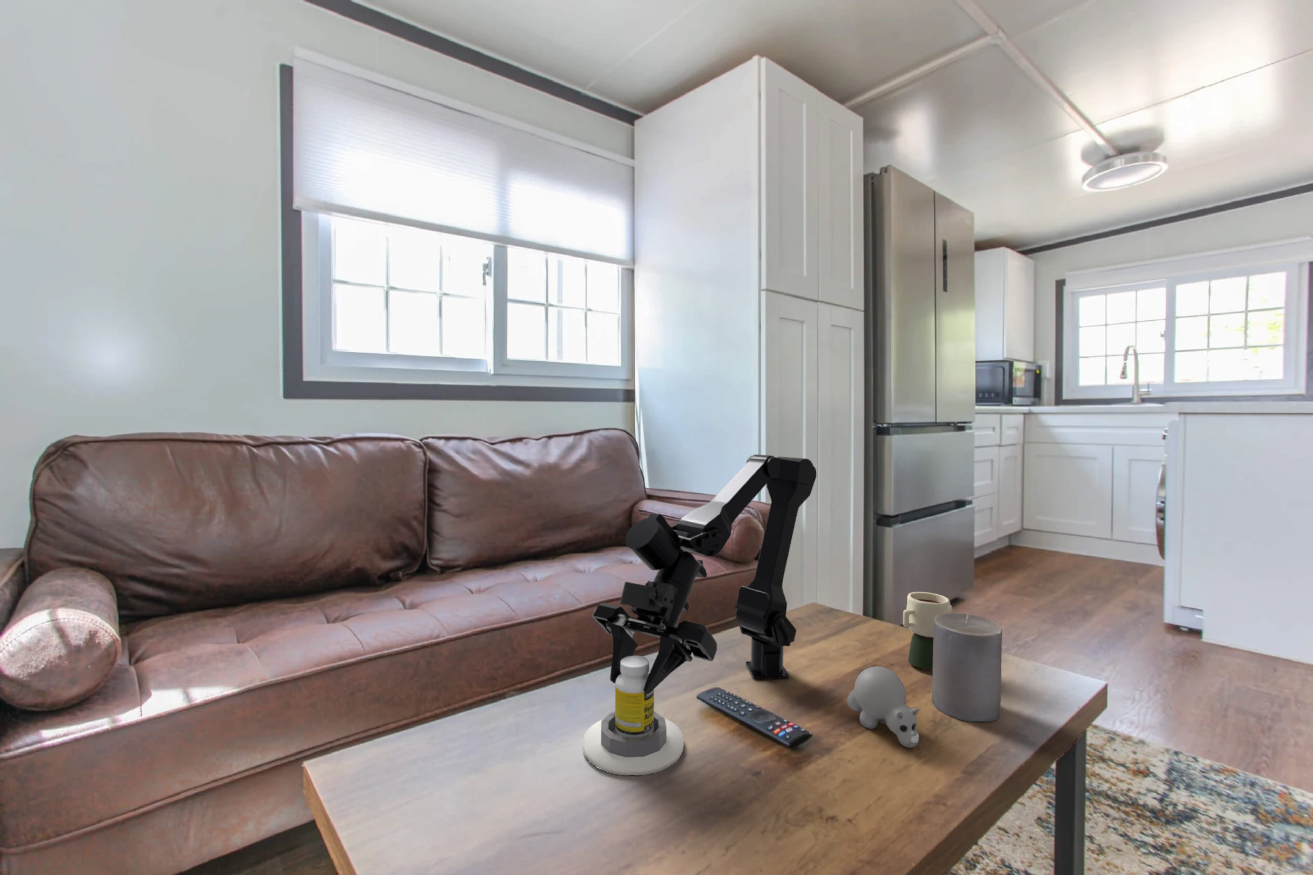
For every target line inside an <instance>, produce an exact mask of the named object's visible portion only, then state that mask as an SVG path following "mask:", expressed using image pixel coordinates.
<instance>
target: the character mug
mask: <svg viewBox="0 0 1313 875" xmlns="http://www.w3.org/2000/svg"><path fill="white" fill-rule="evenodd" d="M906 599H907V601H906V609H904V610H903V612H902V625H903V627H904V628H908V630H909V631H911V633H912V635H911V639H910V644H909V650H908V660H907V661H908V664H911V665H913V666H915V667H918V668H919V669H923V670H927V671H932V672H933V637H934V618H935V617H936V616H937V615H940V614H945V613H953V606H952V605H951V601H950V599H949V598H948V597H946V596H944V595H941V594H939V593H933V592H926V591H925V592H924V591H913V592H909V593H908V594H907V597H906Z"/></svg>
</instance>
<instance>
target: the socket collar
mask: <svg viewBox="0 0 1313 875" xmlns="http://www.w3.org/2000/svg"><path fill="white" fill-rule="evenodd" d="M582 739H583V740H582V751H584V752H583V754H584V753H585V755H586V757H585V759H586V758H587V759H588V760H589V761H590V762H591V763H592V764H594V765H595V766H597V767H599V768H601V769H603V770H604V771H603V772H605V771H608V772H611V773H615V774H620V775H619V776H622V775H642V776H648V775H652V774H651V773H653V774H656V773H659V772H662V771H664V770H666V769H669V768H670V767H672V766H673V765H674V764H676V763H677V762H678V761H679V760H680V758H681V757H680V756H682V755H683V753H684V748H685V747H684V746H685V745H684V735H683V733H682V730H681V728H679V727H678V726H677V725H676V724H675V723H673V722H672V721H670V720H669V719H667V718H664V717H663V716H662V715H661V714H659V713H657V711H654V729H653V731H652V733H651V734H650V735H648V736H645V737H643V738H624V737H622V736H620V735H619V734H618V733H617V732H616V728H615V711H613V712H610V713H608V714H607V715H606V716H605V717H604V718H603V719H600V720H598V721H597V722H595V723H594V724H592V725H591V726H589V728H588V729H587V730H586V731H585V733H584V735H583V738H582ZM683 747H684V748H683ZM682 752H683V753H682ZM681 754H682V755H681ZM585 755H584V756H585ZM587 759H586V760H587ZM588 760H587V761H588ZM589 761H588V762H589ZM590 762H589V763H590ZM591 763H590V764H591ZM592 764H591V765H592ZM671 765H672V766H671ZM595 766H594V767H595ZM608 772H607V773H608ZM611 773H610V774H611ZM615 774H614V775H615Z"/></svg>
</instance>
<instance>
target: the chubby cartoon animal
mask: <svg viewBox="0 0 1313 875" xmlns="http://www.w3.org/2000/svg"><path fill="white" fill-rule="evenodd" d="M906 701H907V692H906V687H905V685H904V682H903V681H902V679H901V678H900V677H899V675H898V674H896V673H895V672H894V671H893V670H891V669H889V668H886V667H884V666H871V667H867V668H866V669H865V668H864V670H862V671H861V672H860V673H859V674H858V676H857V677H856V680H855V682H854V689H852V691H851V692H850V693H849V695H848V697H847V699H846V703H847V706H848V708H850V709H851V710H852V711H855V712H860V713H859V722H860V724H861V725H862V726H863V727H864V728H867V729H870V730H873V729H875V728H876V727H877V726H878V723H879V722H881V724H884V725H886V726H887V727H888V729H889V730H890V731H891V732H892V733H893V734H895V735H896V737H897V740H898V742H899V743H900V744H901V745H902V746H903V747H905V748H908V749H909V748H915V746H917V744H919V743H920V742H919V741H920V738H919V737H920V736H919V732H918V728H917V726H918V719H917V715H918V714H919V713H918V712H920V708H917V707H913V708H911V707H910V706H908V705H906V703H907V702H906Z"/></svg>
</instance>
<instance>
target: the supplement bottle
mask: <svg viewBox="0 0 1313 875" xmlns="http://www.w3.org/2000/svg"><path fill="white" fill-rule="evenodd" d="M620 671H621V674H620V675H619V676H618V677H617V678H616V682H615V683H614V684H615V687H614V688H615V691H614V692H615V694H614V695H615V698H614V700H615V701H614V702H615V703H614V704H615V705H614V706H615V707H614V709H615V710H614V712H615V728H616V732H617V733H618V734H619V735H620V736H622V737H624V738H643V737H645V736H648V735H650V734H651V733H652V731H653V729H654V712H655V689H654V690H652V691H651V692H650V693H649V694H646V693H645V692H644V687H645V684H646V680H647V678H648V675H649V673H650V660H649V659H648V658H647V657H645V656H642V655H632V656H628V657H625V658H623V659H622V660H621V662H620Z"/></svg>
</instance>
